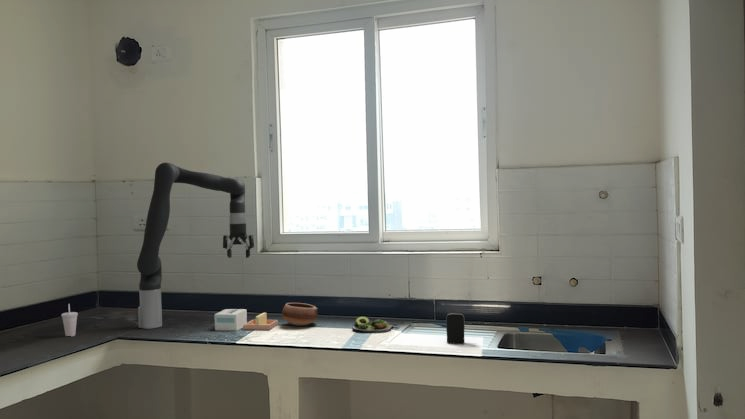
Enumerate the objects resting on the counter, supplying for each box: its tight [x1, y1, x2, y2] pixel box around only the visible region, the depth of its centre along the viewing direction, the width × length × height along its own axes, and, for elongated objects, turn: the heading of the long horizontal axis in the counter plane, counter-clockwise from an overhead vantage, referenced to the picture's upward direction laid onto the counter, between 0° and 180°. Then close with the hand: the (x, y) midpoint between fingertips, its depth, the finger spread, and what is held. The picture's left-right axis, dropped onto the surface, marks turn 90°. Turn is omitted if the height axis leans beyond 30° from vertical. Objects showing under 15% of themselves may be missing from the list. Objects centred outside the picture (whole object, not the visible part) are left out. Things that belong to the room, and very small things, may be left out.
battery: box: [445, 312, 466, 345], centre depth 233 cm, size 7×4×11 cm, turn 78°
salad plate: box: [351, 316, 399, 334], centre depth 261 cm, size 19×18×5 cm
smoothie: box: [60, 303, 79, 337], centre depth 261 cm, size 6×6×14 cm
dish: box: [242, 319, 279, 331], centre depth 268 cm, size 12×11×2 cm
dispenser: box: [214, 308, 248, 332], centre depth 269 cm, size 10×12×7 cm
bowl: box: [281, 302, 318, 327], centre depth 270 cm, size 16×16×10 cm
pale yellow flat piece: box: [255, 312, 268, 325], centre depth 268 cm, size 1×5×9 cm
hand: (238, 257), depth 279 cm, fingers open, 8 cm apart
